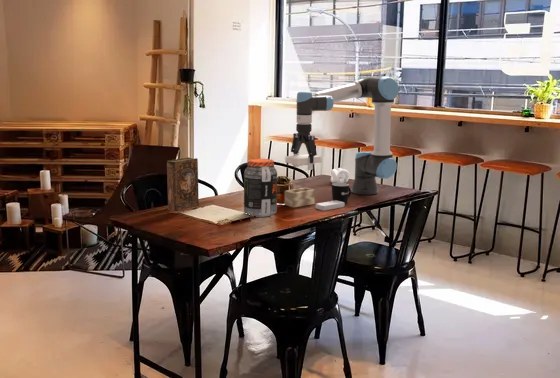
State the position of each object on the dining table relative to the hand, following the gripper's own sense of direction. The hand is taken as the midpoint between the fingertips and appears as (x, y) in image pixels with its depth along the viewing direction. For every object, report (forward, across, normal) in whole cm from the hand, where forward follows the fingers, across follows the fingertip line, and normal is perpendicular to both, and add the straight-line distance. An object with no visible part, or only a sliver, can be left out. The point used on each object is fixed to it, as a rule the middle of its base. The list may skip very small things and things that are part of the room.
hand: (303, 168), depth 287 cm
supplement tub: (+20, +1, -27) cm, 33 cm away
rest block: (+20, +13, +7) cm, 24 cm away
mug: (+20, +6, +21) cm, 30 cm away
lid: (-3, 0, 0) cm, 3 cm away
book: (+19, -26, -54) cm, 63 cm away
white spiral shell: (+20, -34, +56) cm, 68 cm away
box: (+20, -1, -1) cm, 20 cm away
